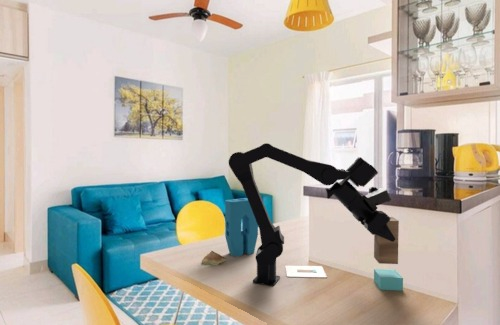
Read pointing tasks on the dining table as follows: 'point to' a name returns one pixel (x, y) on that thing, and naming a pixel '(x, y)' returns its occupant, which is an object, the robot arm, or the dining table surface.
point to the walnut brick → (387, 245)
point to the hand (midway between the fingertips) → (391, 237)
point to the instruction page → (305, 271)
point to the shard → (213, 258)
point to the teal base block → (388, 279)
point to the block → (234, 235)
